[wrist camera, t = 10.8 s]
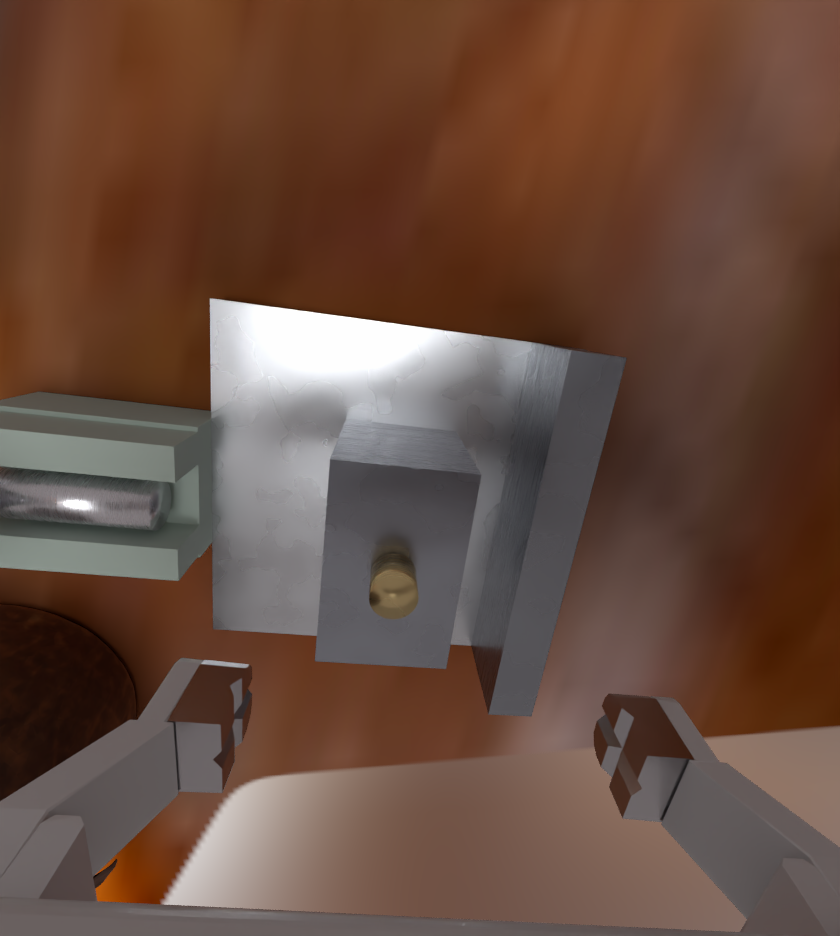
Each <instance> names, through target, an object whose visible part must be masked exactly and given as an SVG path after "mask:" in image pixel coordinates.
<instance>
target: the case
mask: <svg viewBox="0 0 840 936" xmlns="http://www.w3.org/2000/svg"><path fill="white" fill-rule="evenodd" d="M135 718H136V699H135V690H134V686H133V683H132V680H131V679H130V677H129V674H128V672H127V671H126V669H125V667H124V665H123V664H122V663H121V661H120V660H119V659H118V657H117V656H116V655H115V654H114V653H113V651H112V650H111V649H110V648H109V647H108V646H107V645H106V644H104V643H103V642H102V641H101V640H100V639H99V638H98V637H97V636H95V635H94V634H92V633H91V632H90V631H88V630H87V629H85V628H83V627H81V626H79V625H77V624H75V623H73V622H70V621H68V620H66V619H64V618H62V617H60V616H57V615H54V614H51V613H48V612H45V611H41V610H37V609H32V608H27V607H21V606H14V605H0V801H2V800H3V799H5V798H6V797H8V796H10V795H11V794H13V793H14V792H16V791H17V790H19V789H21V788H22V787H24V786H25V785H27V784H29V783H30V782H32V781H33V780H35V779H37V778H38V777H40V776H41V775H43V774H44V773H46V772H48V771H49V770H51V769H52V768H54V767H56V766H57V765H59V764H60V763H62V762H63V761H65V760H67V759H68V758H70V757H71V756H73V755H75V754H76V753H78V752H79V751H81V750H83V749H84V748H86V747H87V746H89V745H90V744H92V743H94V742H95V741H97V740H98V739H100V738H102V737H103V736H105V735H106V734H108V733H109V732H111V731H113V730H114V729H116V728H117V727H119V726H121V725H122V724H124V723H125V722H127V721H129V720H135ZM116 863H117V859H116V860H115V861H114V862H113V863H112V864H111V865H110V866H109V867H107V868H106V869H105V870H103V871H101V872H100V873H98V874H96V875H95V876H93V880H94V886H95V888H97V887H98V886H99V885H101V883H102V882H103V881H104V880H105V879H106V877H107V876H108V875H109V874H110V872H111V871H112V870H113V869H114V867H115V865H116Z"/></svg>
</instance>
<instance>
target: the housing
mask: <svg viewBox="0 0 840 936" xmlns="http://www.w3.org/2000/svg"><path fill="white" fill-rule="evenodd" d="M480 481H481V473H480V471H479V470H478V468H477V466H476V465H475V463H474V461H473V459H472V458H471V456H470V454H469V453H468V451H467V449H466V447H465V446H464V444H463V442H462V441H461V439H460V437H459V435H458V434H457V432H456V431H449V430H440V429H431V428H422V427H413V426H405V425H396V424H387V423H378V422H369V421H361V420H352V419H346V420H345V423H344V425H343V428H342V430H341V433H340V435H339V438H338V440H337V443H336V445H335V448H334V450H333V453H332V455H331V458H330V466H329V480H328V493H327V507H326V520H325V534H324V547H323V561H322V574H321V588H320V601H319V615H318V628H317V642H316V655H315V661H321V662H338V663H355V664H372V665H389V666H406V667H424V668H441V669H446V666H447V660H448V655H449V649H450V644H451V639H452V633H453V628H454V622H455V617H456V611H457V606H458V600H459V595H460V590H461V584H462V579H463V573H464V568H465V562H466V557H467V551H468V546H469V541H470V535H471V530H472V524H473V519H474V513H475V508H476V502H477V497H478V492H479V486H480Z"/></svg>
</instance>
